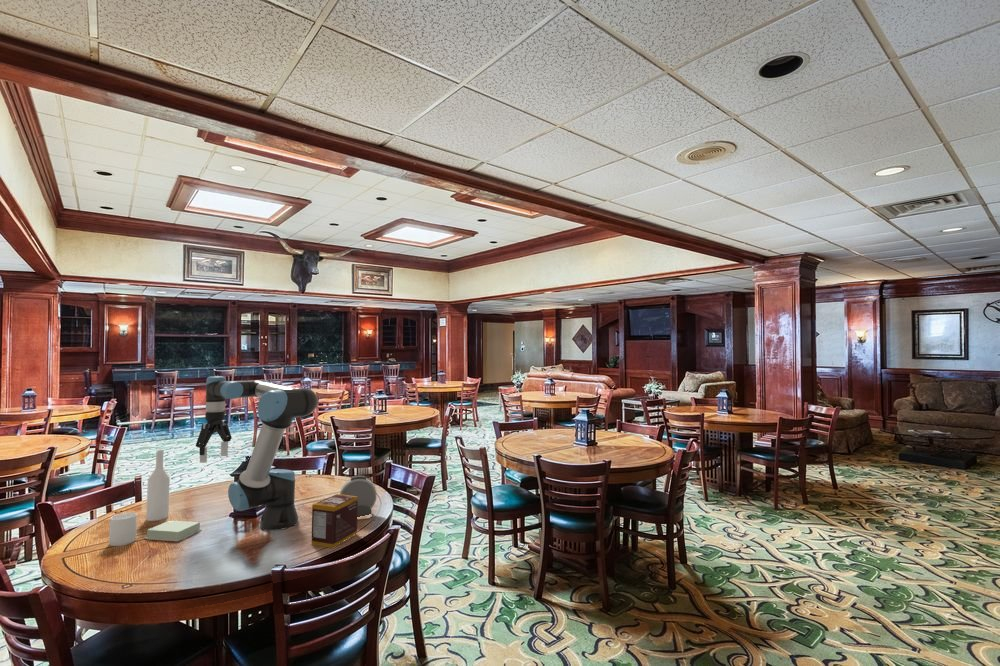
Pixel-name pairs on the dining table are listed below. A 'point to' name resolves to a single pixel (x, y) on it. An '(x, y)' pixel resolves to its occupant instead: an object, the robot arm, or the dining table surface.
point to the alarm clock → (361, 493)
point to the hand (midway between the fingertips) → (214, 459)
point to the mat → (172, 539)
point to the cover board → (173, 530)
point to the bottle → (158, 491)
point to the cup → (122, 529)
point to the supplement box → (334, 520)
